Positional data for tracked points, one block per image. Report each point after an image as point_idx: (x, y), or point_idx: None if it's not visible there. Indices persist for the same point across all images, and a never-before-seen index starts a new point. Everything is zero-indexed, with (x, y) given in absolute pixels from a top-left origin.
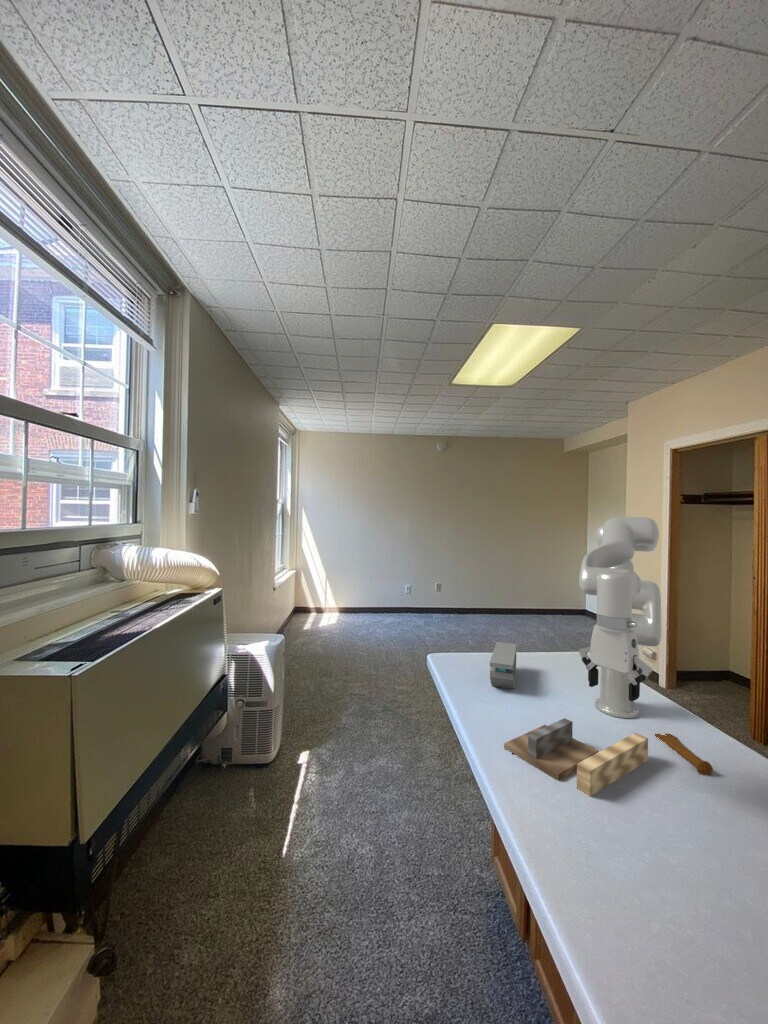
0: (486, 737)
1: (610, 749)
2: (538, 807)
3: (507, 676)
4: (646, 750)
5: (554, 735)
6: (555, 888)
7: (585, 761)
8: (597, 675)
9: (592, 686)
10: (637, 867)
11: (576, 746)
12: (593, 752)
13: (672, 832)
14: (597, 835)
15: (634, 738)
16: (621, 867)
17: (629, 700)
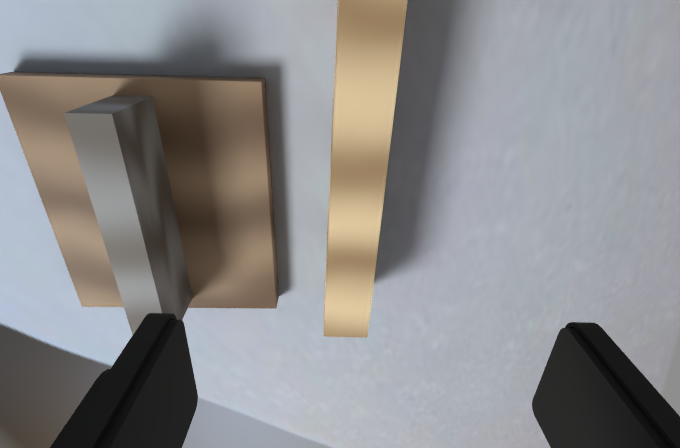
0: (12, 289)
1: (346, 176)
2: (313, 387)
3: None
4: None
5: (155, 239)
6: None
7: (332, 309)
8: (136, 421)
9: (195, 395)
10: (504, 377)
11: (197, 130)
12: (258, 115)
13: (543, 255)
14: (427, 367)
15: None
16: (484, 393)
17: (536, 404)
